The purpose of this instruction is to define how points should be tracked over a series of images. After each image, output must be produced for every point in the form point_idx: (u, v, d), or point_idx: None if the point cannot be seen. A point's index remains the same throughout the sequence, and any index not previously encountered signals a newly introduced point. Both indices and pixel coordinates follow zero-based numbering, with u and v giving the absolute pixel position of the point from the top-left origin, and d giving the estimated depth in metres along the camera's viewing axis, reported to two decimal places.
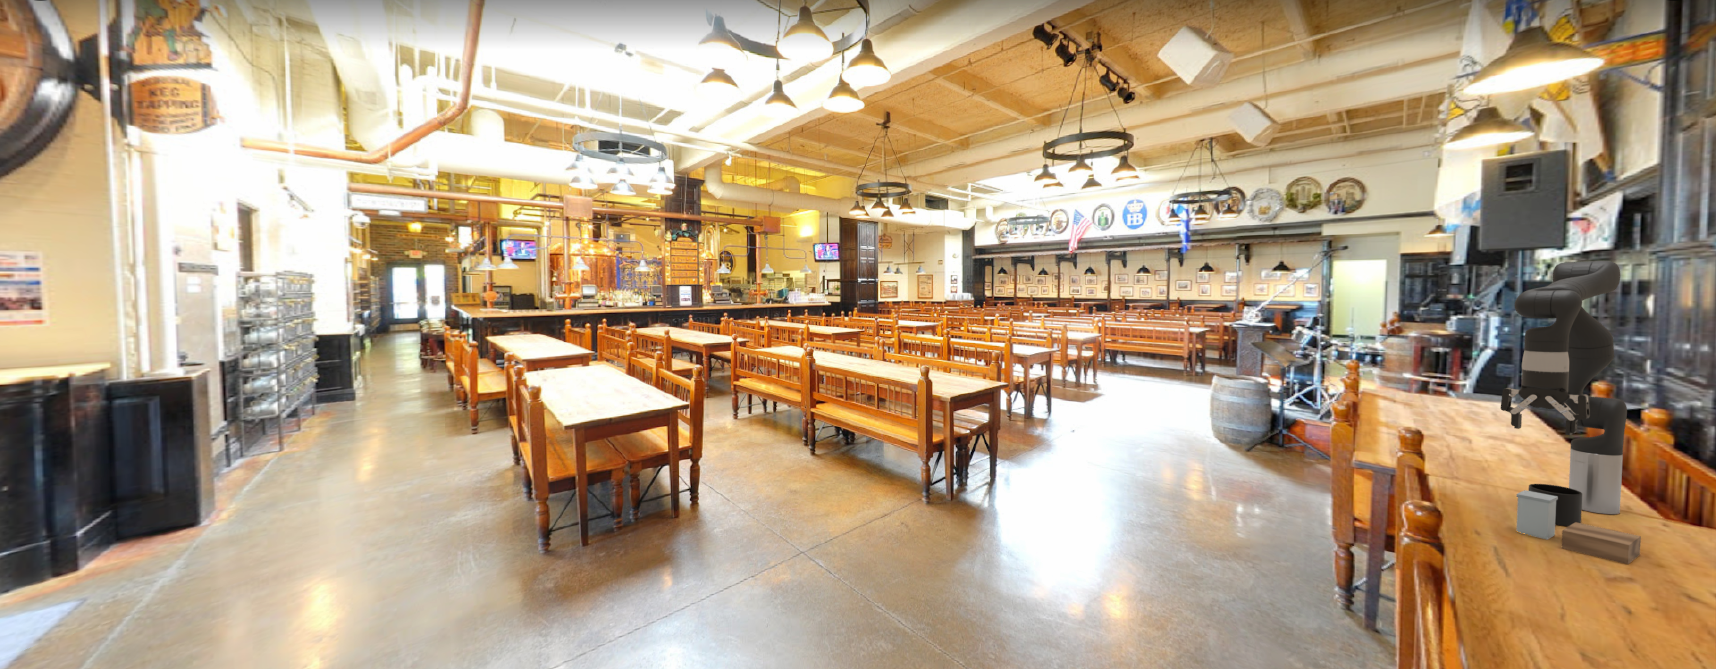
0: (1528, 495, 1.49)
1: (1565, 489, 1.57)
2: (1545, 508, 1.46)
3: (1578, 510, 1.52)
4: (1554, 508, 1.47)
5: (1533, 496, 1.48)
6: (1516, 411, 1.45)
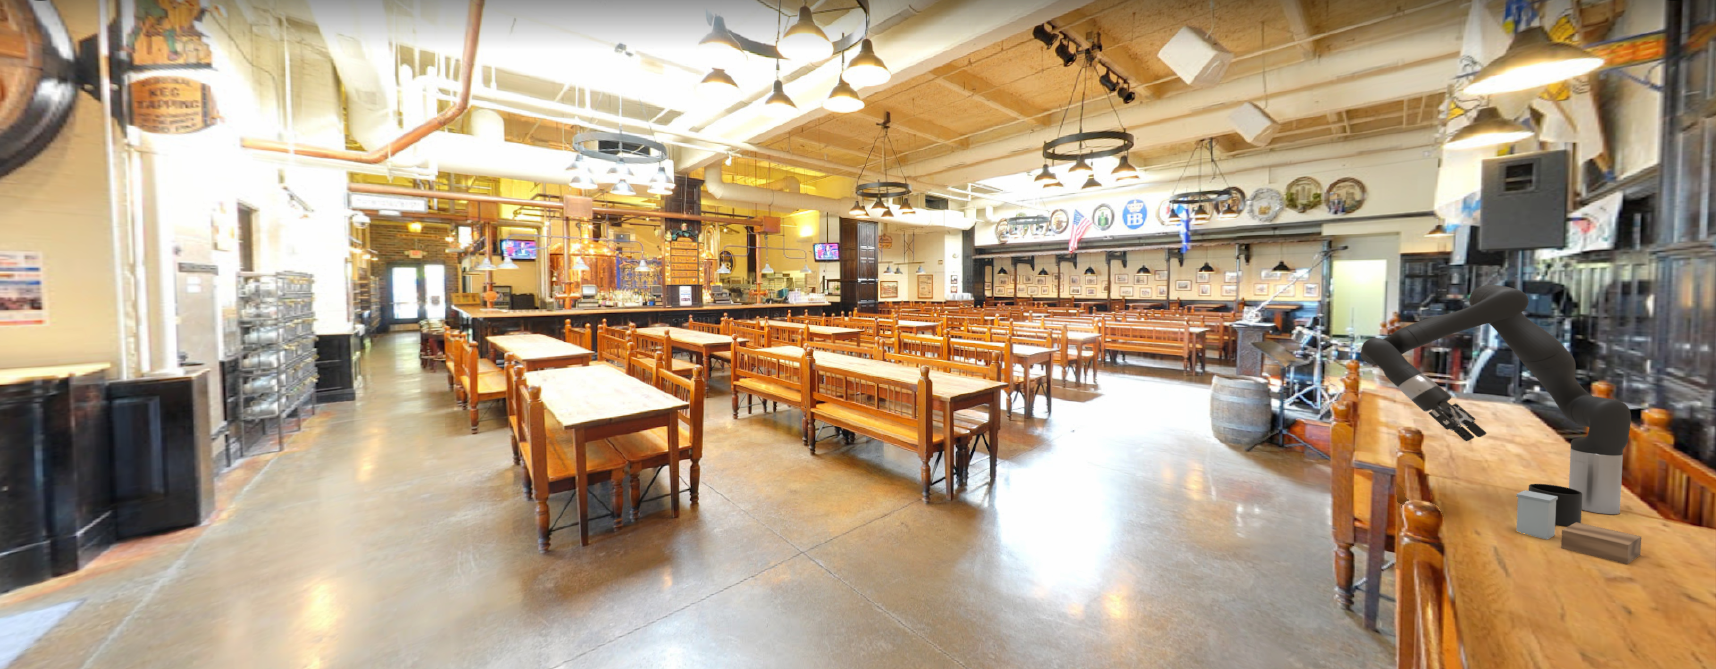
0: (1528, 495, 1.49)
1: (1565, 489, 1.57)
2: (1545, 508, 1.46)
3: (1578, 510, 1.52)
4: (1554, 508, 1.47)
5: (1533, 496, 1.48)
6: None
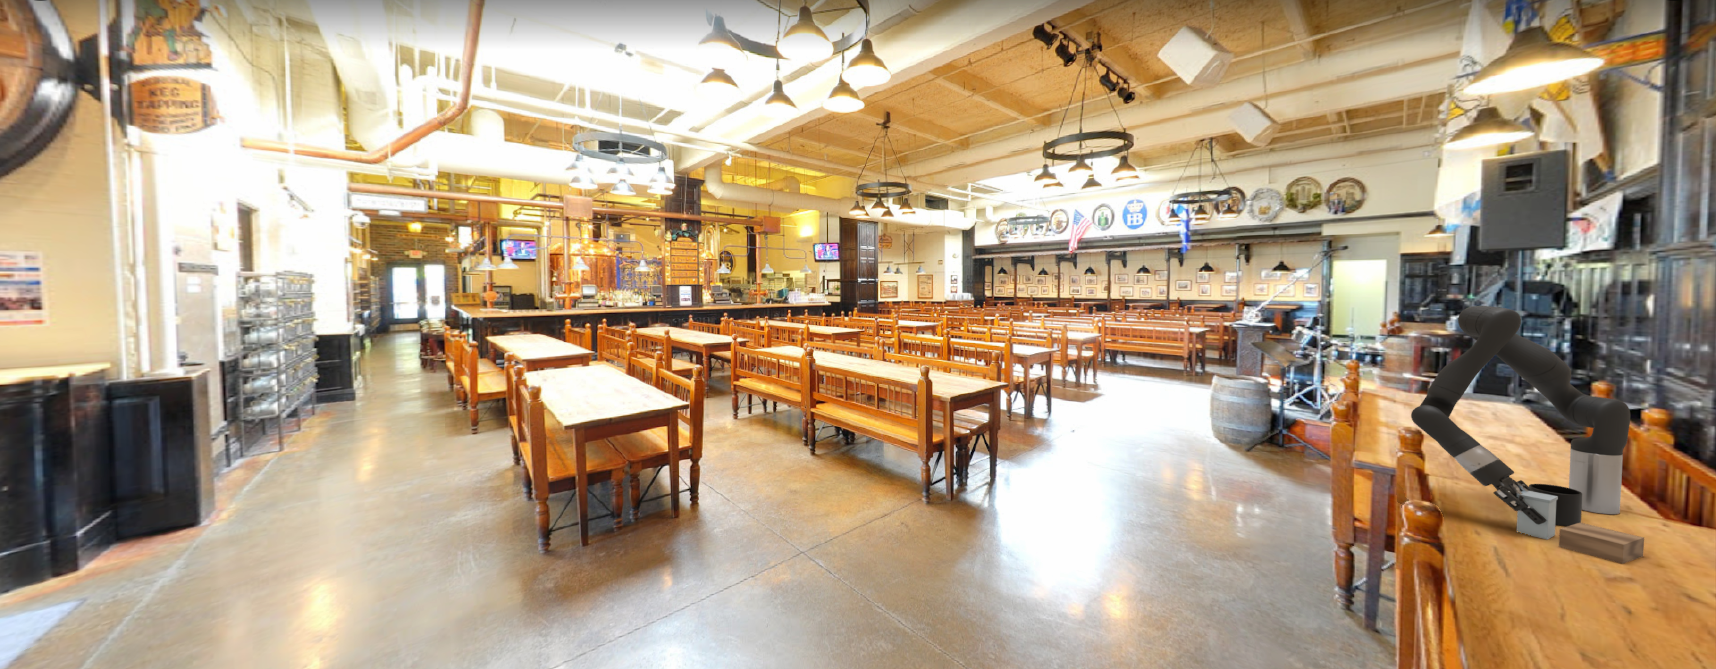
0: (1528, 495, 1.49)
1: (1565, 489, 1.57)
2: (1545, 508, 1.46)
3: (1578, 510, 1.52)
4: (1554, 508, 1.47)
5: (1533, 496, 1.48)
6: None
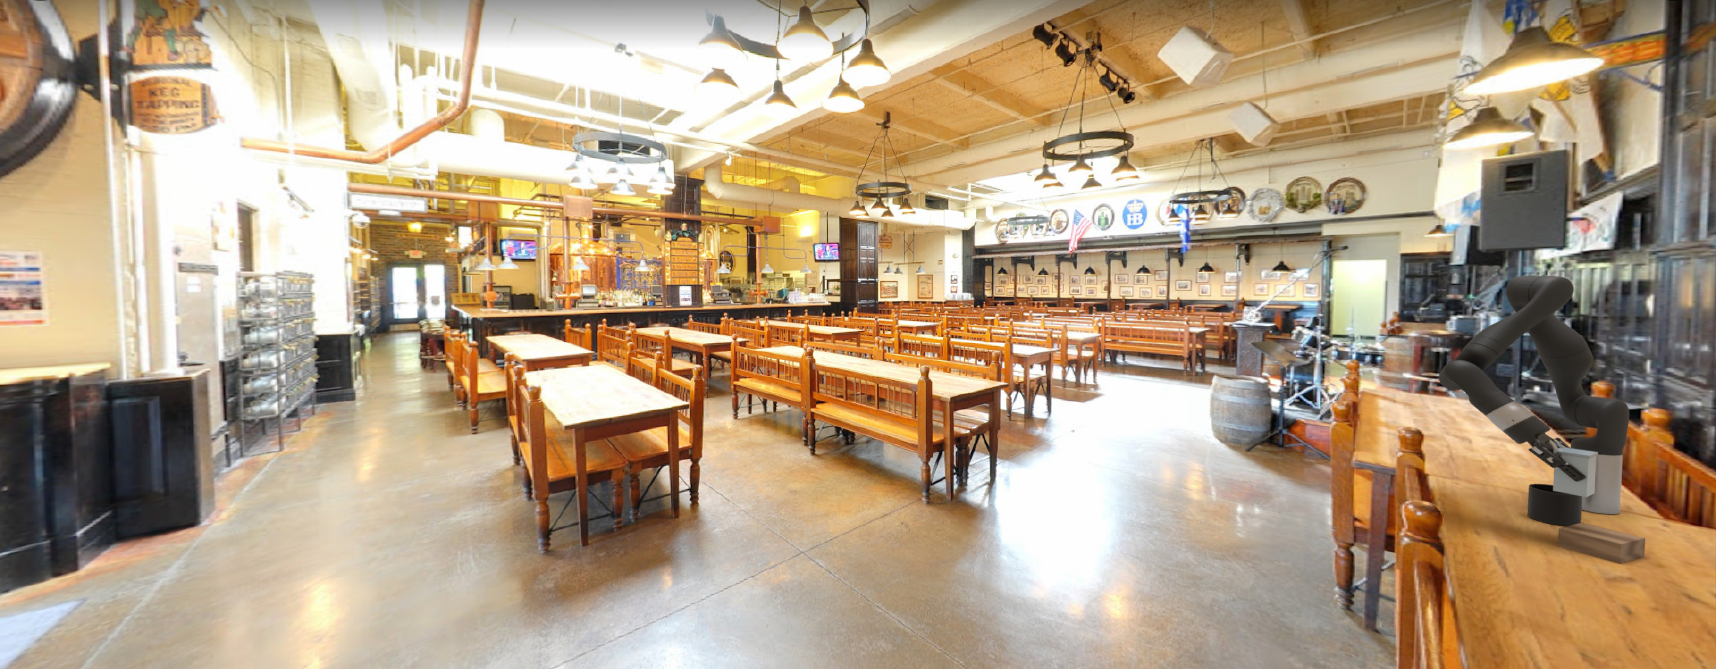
0: (1566, 451, 1.41)
1: None
2: (1584, 464, 1.38)
3: (1578, 510, 1.52)
4: (1594, 464, 1.40)
5: (1571, 452, 1.41)
6: None
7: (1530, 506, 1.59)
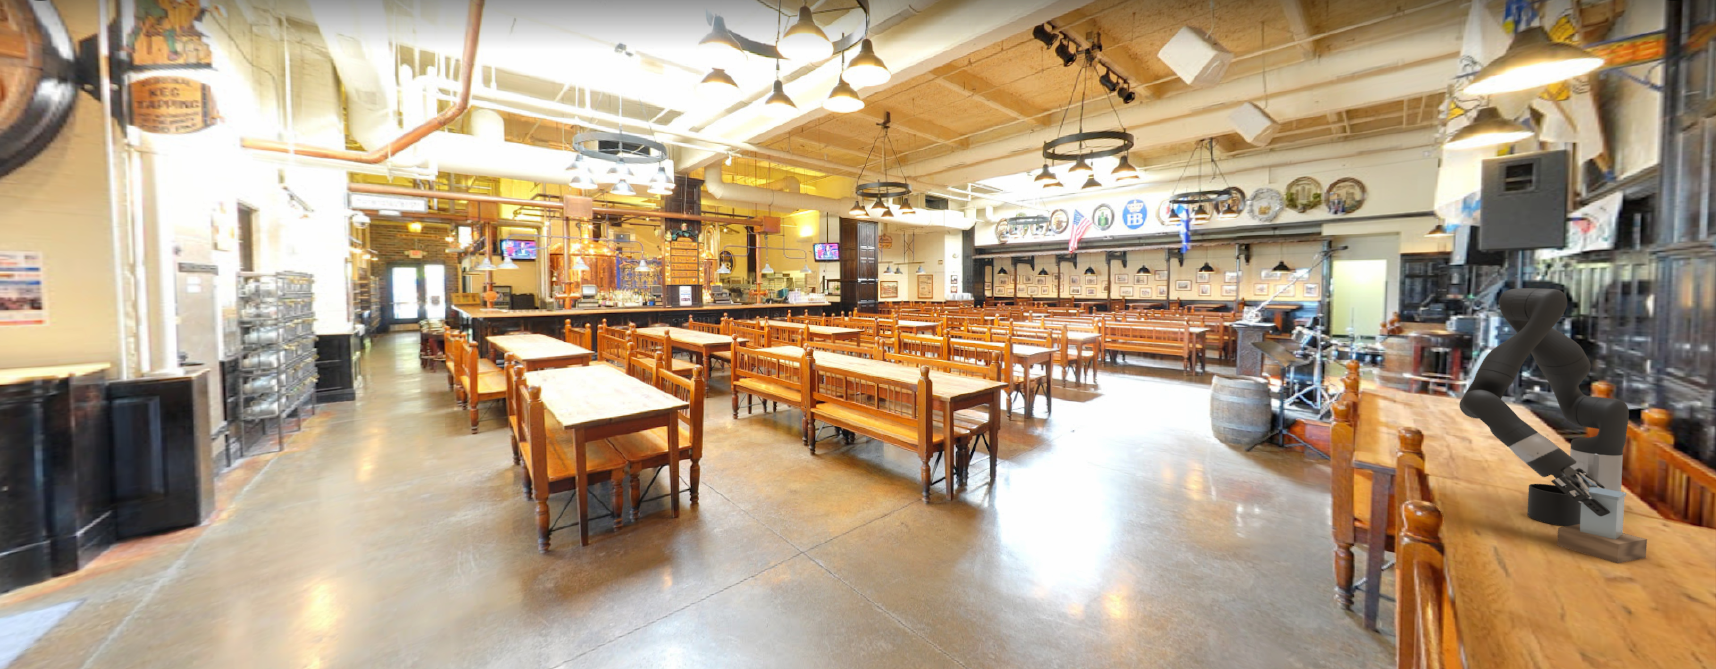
0: (1593, 491, 1.38)
1: None
2: (1613, 505, 1.35)
3: (1578, 510, 1.52)
4: (1622, 505, 1.36)
5: (1599, 492, 1.37)
6: None
7: (1530, 506, 1.59)
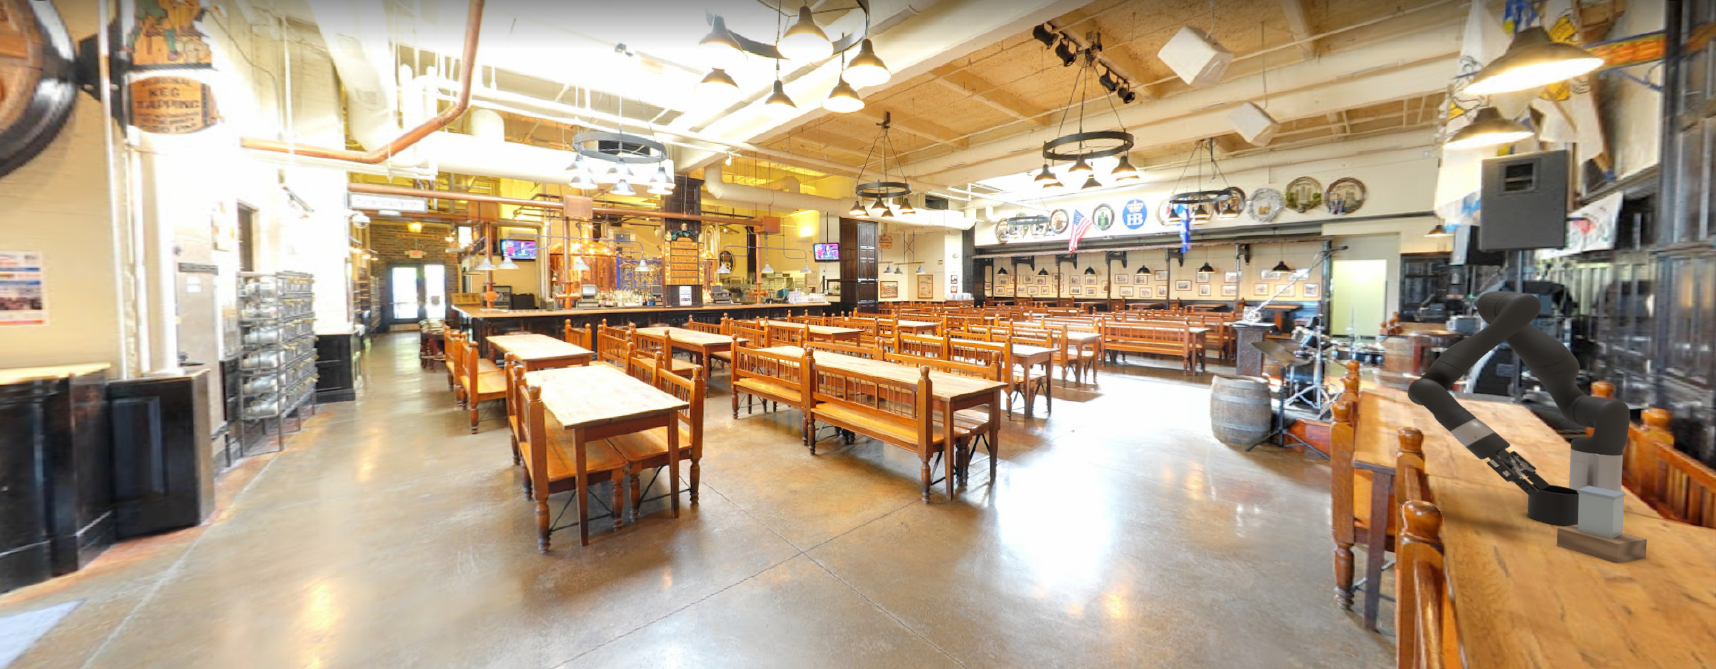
0: (1591, 491, 1.38)
1: (1565, 489, 1.57)
2: (1610, 505, 1.35)
3: None
4: (1621, 505, 1.36)
5: (1596, 492, 1.37)
6: None
7: (1530, 506, 1.59)
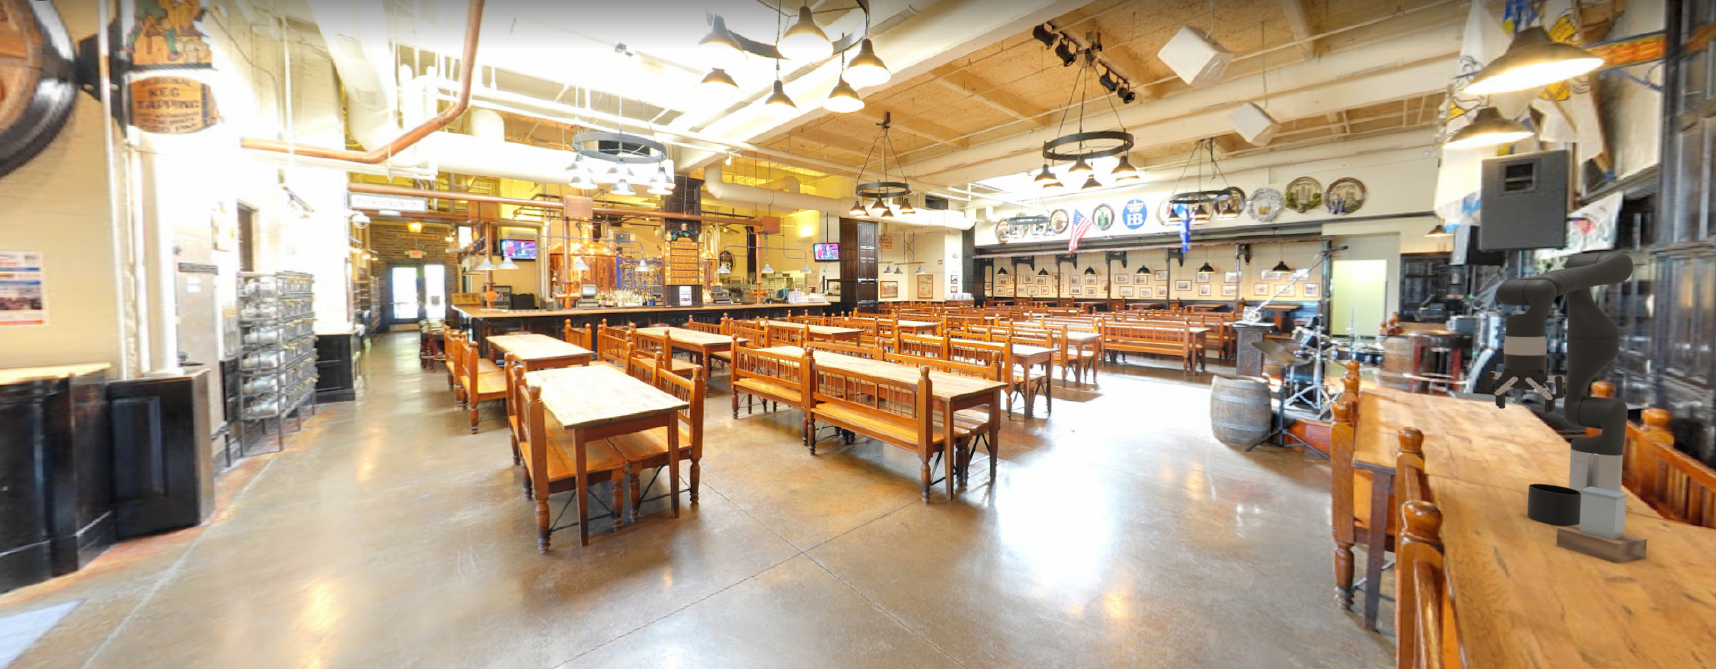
0: (1593, 491, 1.38)
1: (1565, 489, 1.57)
2: (1612, 505, 1.35)
3: (1578, 510, 1.52)
4: (1623, 506, 1.36)
5: (1599, 492, 1.37)
6: (1500, 392, 1.57)
7: (1530, 506, 1.59)
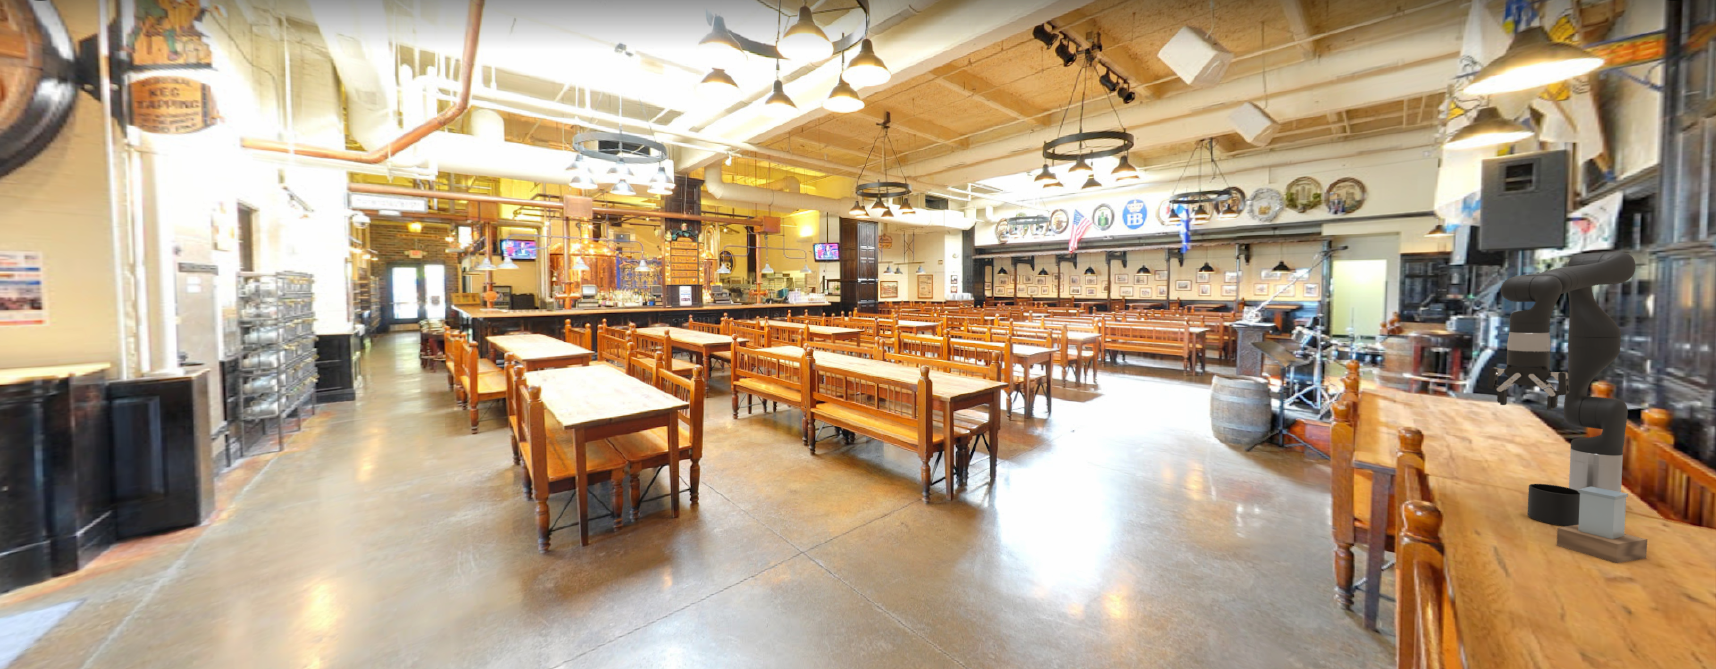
0: (1592, 491, 1.38)
1: (1565, 489, 1.57)
2: (1610, 505, 1.35)
3: (1578, 510, 1.52)
4: (1623, 506, 1.36)
5: (1597, 492, 1.37)
6: (1502, 389, 1.56)
7: (1530, 506, 1.59)
